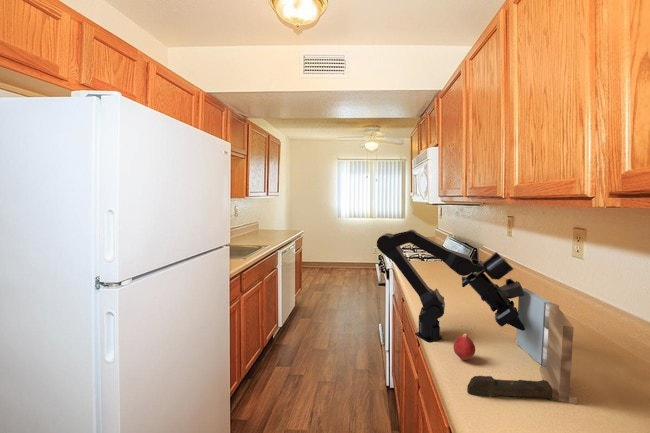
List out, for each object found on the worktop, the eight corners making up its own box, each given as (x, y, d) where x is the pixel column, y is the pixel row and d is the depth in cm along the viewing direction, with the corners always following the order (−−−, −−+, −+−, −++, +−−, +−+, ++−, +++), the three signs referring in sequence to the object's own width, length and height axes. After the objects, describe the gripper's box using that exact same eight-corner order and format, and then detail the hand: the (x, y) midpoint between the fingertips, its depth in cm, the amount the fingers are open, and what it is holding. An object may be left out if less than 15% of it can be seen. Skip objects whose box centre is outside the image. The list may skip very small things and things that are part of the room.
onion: (454, 364, 95) (455, 336, 94) (451, 354, 100) (452, 328, 99) (476, 366, 93) (477, 339, 92) (472, 356, 99) (473, 330, 98)
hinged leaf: (546, 371, 90) (550, 306, 88) (514, 342, 106) (517, 288, 105) (557, 371, 90) (561, 307, 88) (524, 343, 106) (527, 288, 104)
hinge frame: (550, 399, 79) (555, 324, 77) (536, 365, 94) (540, 302, 92) (576, 404, 77) (581, 328, 75) (558, 368, 92) (561, 304, 90)
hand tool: (544, 392, 82) (545, 374, 81) (553, 403, 78) (554, 384, 77) (464, 387, 84) (464, 370, 84) (469, 397, 80) (469, 379, 80)
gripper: (512, 281, 92) (555, 326, 90) (503, 265, 110) (539, 302, 107) (479, 304, 96) (520, 348, 93) (475, 285, 113) (509, 322, 111)
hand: (523, 328), depth 101 cm, fingers closed
